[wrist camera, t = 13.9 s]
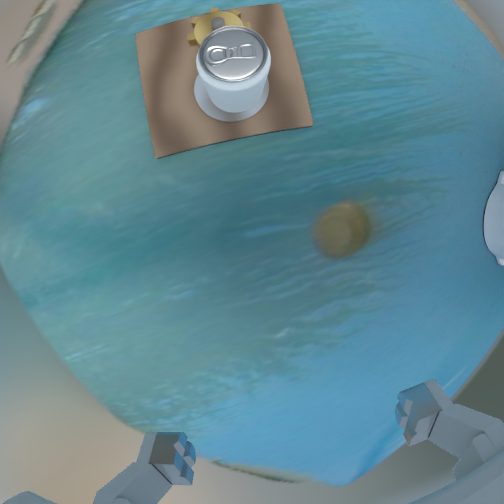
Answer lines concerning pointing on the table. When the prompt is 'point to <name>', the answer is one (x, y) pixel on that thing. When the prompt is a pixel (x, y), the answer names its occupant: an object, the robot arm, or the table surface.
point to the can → (233, 67)
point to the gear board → (193, 90)
